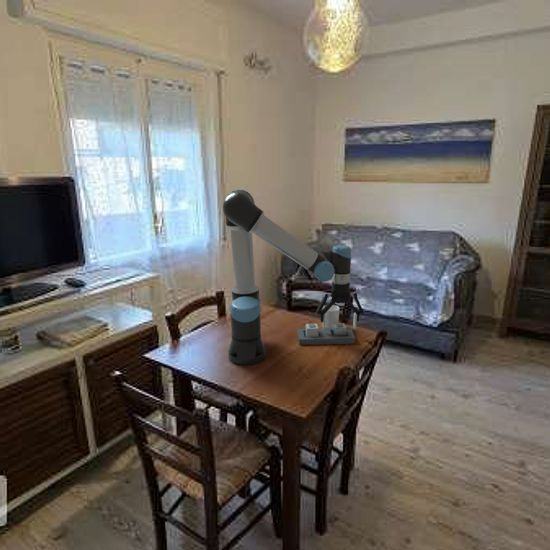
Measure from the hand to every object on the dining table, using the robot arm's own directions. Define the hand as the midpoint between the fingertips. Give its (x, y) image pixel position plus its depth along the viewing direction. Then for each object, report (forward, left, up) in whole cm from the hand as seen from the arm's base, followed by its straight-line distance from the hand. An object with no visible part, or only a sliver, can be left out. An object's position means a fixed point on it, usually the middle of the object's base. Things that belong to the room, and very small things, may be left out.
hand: (339, 328), depth 175 cm
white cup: (-2, +11, -5) cm, 12 cm away
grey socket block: (-6, 0, -5) cm, 8 cm away
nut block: (0, 0, -5) cm, 5 cm away
